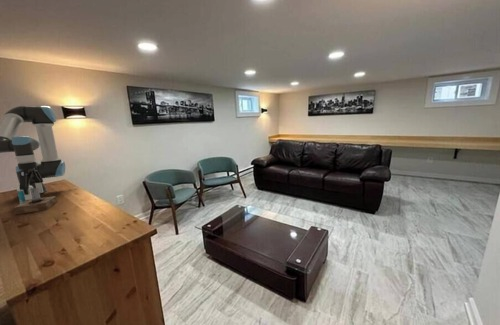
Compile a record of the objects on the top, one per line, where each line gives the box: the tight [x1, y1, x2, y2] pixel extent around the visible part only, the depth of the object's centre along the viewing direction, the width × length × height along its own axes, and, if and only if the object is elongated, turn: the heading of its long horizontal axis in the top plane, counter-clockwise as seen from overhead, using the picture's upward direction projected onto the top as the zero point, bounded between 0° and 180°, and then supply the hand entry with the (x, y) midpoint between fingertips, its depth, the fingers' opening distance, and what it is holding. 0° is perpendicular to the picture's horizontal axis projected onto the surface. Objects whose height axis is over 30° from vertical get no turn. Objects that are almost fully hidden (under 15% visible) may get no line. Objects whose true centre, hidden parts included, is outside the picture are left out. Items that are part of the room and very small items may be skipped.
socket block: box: [13, 195, 58, 215], centre depth 128 cm, size 14×14×4 cm
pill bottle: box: [16, 183, 33, 204], centre depth 135 cm, size 8×7×14 cm
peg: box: [30, 188, 42, 203], centre depth 127 cm, size 4×4×12 cm
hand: (35, 196), depth 126 cm, fingers open, 13 cm apart
